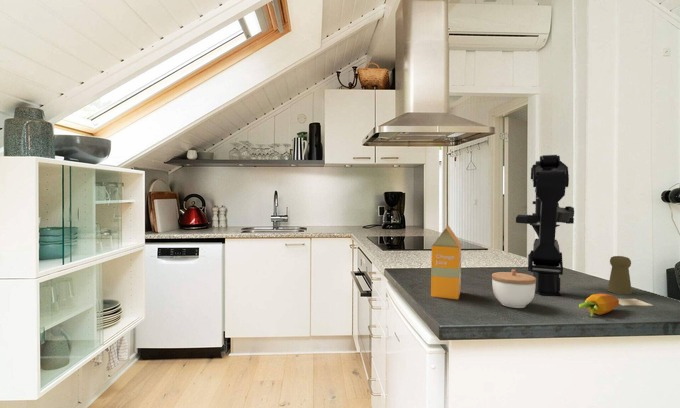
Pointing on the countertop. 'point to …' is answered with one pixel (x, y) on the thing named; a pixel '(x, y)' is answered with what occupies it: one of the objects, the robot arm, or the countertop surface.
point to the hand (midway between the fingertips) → (544, 244)
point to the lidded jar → (513, 288)
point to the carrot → (600, 303)
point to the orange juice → (446, 266)
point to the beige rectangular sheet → (632, 302)
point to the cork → (620, 275)
